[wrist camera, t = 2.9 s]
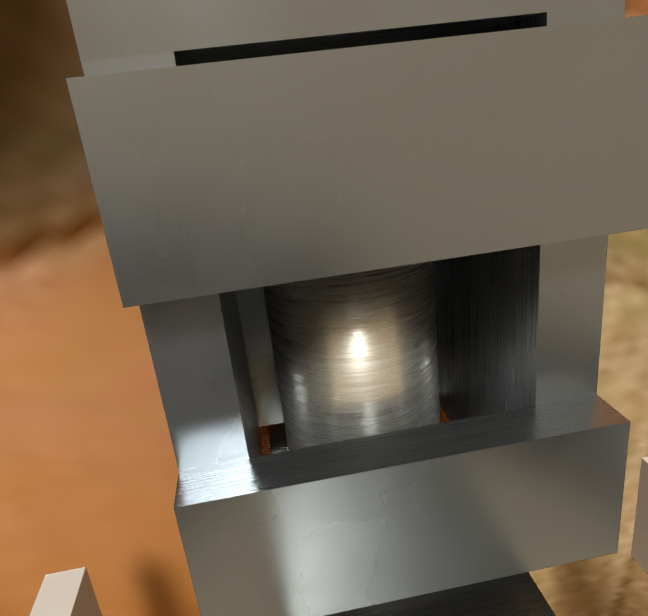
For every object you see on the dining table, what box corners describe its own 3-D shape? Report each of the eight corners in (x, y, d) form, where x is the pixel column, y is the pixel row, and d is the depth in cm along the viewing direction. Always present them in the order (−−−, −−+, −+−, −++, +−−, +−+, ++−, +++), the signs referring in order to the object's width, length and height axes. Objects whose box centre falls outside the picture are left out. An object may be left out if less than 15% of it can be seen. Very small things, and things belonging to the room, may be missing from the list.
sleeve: (140, 26, 11) (29, -67, 5) (446, -5, 12) (684, -119, 6) (218, 412, 15) (209, 651, 8) (456, 371, 15) (616, 562, 9)
